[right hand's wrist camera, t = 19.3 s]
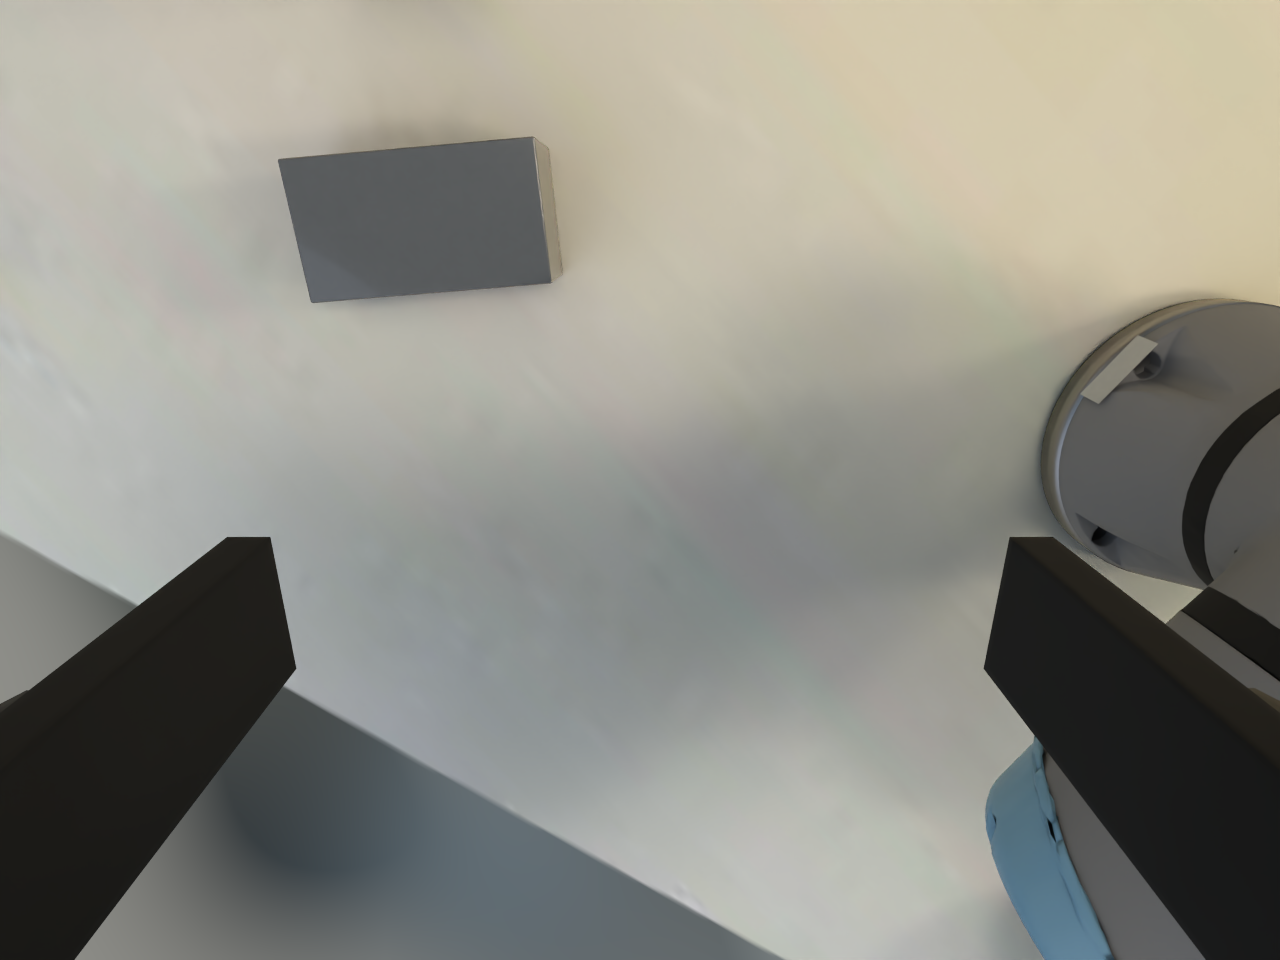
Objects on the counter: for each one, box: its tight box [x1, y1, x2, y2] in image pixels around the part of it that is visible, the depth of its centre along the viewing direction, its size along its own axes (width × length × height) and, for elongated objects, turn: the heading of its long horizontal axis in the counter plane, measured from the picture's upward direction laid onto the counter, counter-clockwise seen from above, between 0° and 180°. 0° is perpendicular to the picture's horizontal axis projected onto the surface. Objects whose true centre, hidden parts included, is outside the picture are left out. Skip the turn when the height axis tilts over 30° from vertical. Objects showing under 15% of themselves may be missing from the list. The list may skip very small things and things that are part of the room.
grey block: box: [278, 137, 563, 303], centre depth 33 cm, size 11×6×5 cm, turn 95°
